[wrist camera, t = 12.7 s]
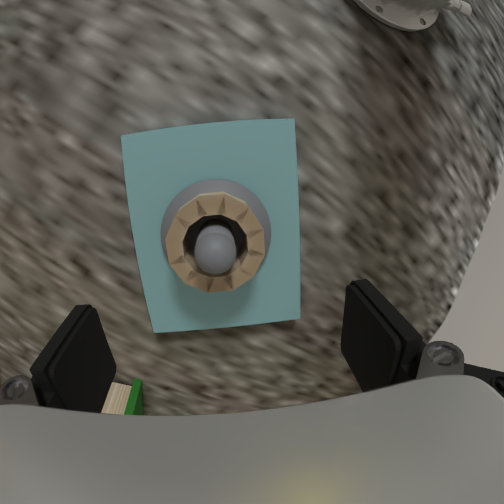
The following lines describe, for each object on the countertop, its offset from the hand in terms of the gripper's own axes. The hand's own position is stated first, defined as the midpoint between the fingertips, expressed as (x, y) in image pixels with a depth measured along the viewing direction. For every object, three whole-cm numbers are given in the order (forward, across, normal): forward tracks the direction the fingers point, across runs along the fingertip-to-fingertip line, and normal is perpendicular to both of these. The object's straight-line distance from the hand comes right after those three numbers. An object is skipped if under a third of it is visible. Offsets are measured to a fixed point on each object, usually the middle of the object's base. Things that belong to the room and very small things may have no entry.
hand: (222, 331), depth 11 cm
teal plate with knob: (+17, +1, +1) cm, 17 cm away
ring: (+14, 0, +1) cm, 15 cm away
